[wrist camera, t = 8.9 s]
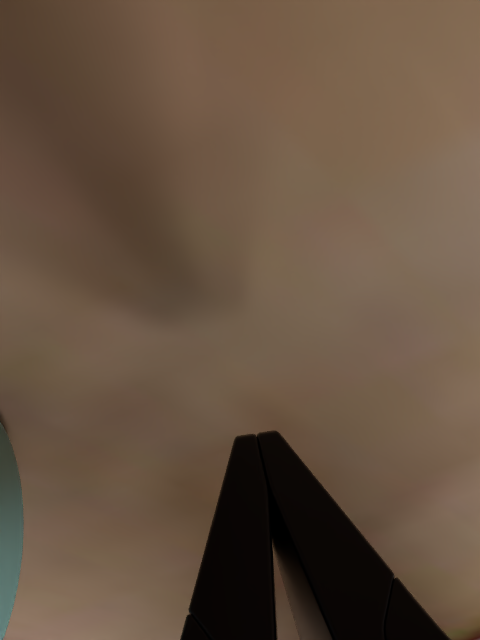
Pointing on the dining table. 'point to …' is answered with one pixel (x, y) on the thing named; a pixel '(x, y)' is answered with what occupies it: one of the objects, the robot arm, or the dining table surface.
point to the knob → (9, 529)
